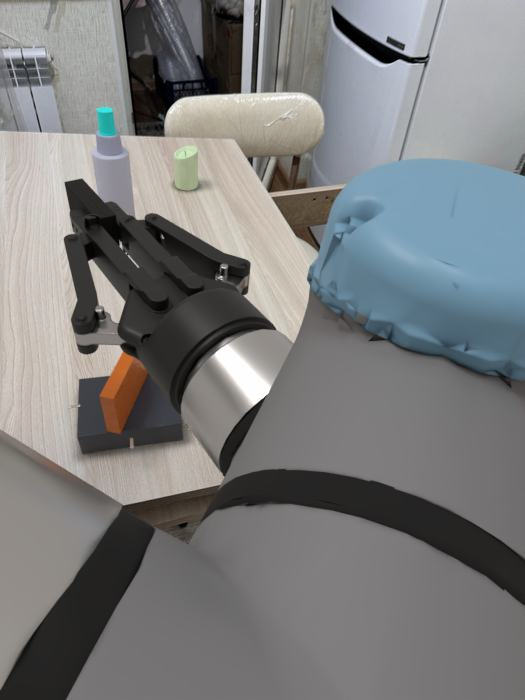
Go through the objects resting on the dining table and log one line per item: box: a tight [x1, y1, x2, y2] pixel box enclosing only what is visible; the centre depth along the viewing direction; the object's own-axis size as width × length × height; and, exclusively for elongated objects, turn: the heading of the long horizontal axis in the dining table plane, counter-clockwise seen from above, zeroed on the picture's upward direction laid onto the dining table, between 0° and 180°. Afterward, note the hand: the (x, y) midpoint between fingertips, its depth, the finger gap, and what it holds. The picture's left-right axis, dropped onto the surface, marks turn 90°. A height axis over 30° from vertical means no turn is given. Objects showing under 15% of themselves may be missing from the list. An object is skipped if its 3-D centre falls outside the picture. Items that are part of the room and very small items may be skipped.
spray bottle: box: [91, 106, 136, 218], centre depth 84 cm, size 6×6×22 cm
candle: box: [173, 145, 199, 192], centre depth 104 cm, size 5×5×8 cm
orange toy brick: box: [99, 350, 148, 434], centre depth 57 cm, size 10×2×7 cm, turn 171°
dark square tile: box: [67, 373, 184, 455], centre depth 61 cm, size 14×14×4 cm
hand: (76, 195), depth 40 cm, fingers closed
